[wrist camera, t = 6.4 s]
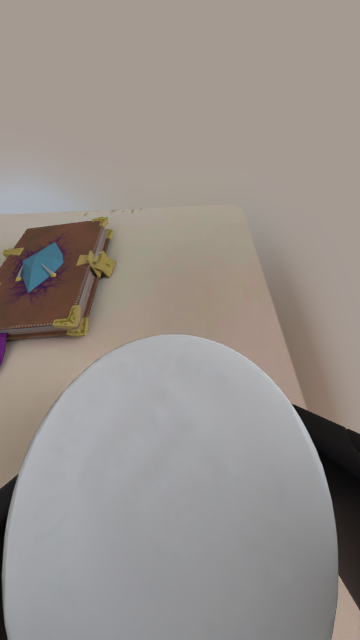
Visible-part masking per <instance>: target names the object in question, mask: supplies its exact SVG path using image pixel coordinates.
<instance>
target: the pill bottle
mask: <svg viewBox="0 0 360 640" xmlns="http://www.w3.org/2000/svg"><path fill="white" fill-rule="evenodd" d="M337 598H338V544H337V533H336V524H335V518H334V511H333V505H332V499H331V495H330V491H329V488H328V484H327V480H326V476H325V473H324V469H323V466H322V463H321V461H320V458H319V456H318V453H317V451H316V448H315V446H314V444H313V442H312V440H311V438H310V435H309V433H308V431H307V429H306V428H305V426H304V424H303V422H302V420H301V419H300V417H299V415H298V414H297V412H296V410H295V409H294V407H293V406H292V404H291V403H290V401H289V400H288V398H287V397H286V396H285V395H284V393H283V392H282V391H281V390H280V388H279V387H278V386H277V385H276V384H275V383H274V381H273V380H272V379H271V378H270V377H269V376H268V375H267V374H266V373H264V372H263V371H262V370H261V369H260V368H259V367H258V366H257V365H255V364H254V363H253V362H251V361H250V360H249V359H247V358H246V357H244V356H243V355H241V354H240V353H238V352H236V351H234V350H233V349H231V348H229V347H227V346H225V345H222V344H220V343H217V342H214V341H212V340H208V339H205V338H201V337H196V336H191V335H181V334H164V335H157V336H151V337H146V338H142V339H138V340H135V341H132V342H130V343H127V344H125V345H122V346H120V347H118V348H116V349H114V350H112V351H111V352H109V353H107V354H105V355H104V356H102V357H101V358H99V359H98V360H96V361H95V362H94V363H93V364H91V365H90V366H89V367H88V368H86V369H85V370H84V371H83V372H82V373H81V374H80V375H79V376H78V377H77V378H76V379H75V380H74V381H73V382H72V383H71V384H70V385H69V386H68V387H67V388H66V389H65V391H64V392H63V393H62V394H61V395H60V397H59V398H58V399H57V400H56V402H55V403H54V405H53V406H52V407H51V409H50V410H49V412H48V413H47V415H46V416H45V418H44V420H43V421H42V423H41V425H40V426H39V428H38V430H37V432H36V434H35V435H34V438H33V440H32V442H31V444H30V446H29V448H28V451H27V453H26V456H25V458H24V461H23V463H22V466H21V469H20V472H19V474H18V477H17V481H16V484H15V488H14V491H13V495H12V499H11V503H10V507H9V512H8V517H7V523H6V529H5V537H4V549H3V564H2V599H3V613H4V623H5V629H6V633H7V638H8V640H331V637H332V633H333V627H334V620H335V614H336V607H337Z"/></svg>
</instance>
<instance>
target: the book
mask: <svg viewBox="0 0 360 640" xmlns="http://www.w3.org/2000/svg"><path fill="white" fill-rule="evenodd" d="M107 224H108V217H99V218H95V219H92V221H85V222H77V223H69V224H62V225H54V226H46V227H38V228H30V229H27V230H26V231H25V233H24V234H23V236H22V237H21V239H20V240H19V241H18V243H17V244H16V246H15V247H14V249H9V250H4V251H3V253H2V254H3V255H4V256H6V257H7V259H6V260H5V262H4V263H3V265H2V266H1V267H0V365H1V363H2V360H3V357H4V353H5V346H6V340H11V339H24V338H37V337H49V336H62V335H69V336H75V337H82V336H86V334H87V332H88V326H89V319H88V316H89V313H90V309H91V305H92V302H93V298H94V294H95V291H96V287H97V283H98V280H99V278H100V276H101V273H102V272H103V273H104V274H105V275H106V276H107V277H110V276H111V274H112V271H113V269H114V266H115V264H116V262H115V261H114V260H112V259H110V258H109V257H108V256H107V255H106V251H107V247H108V243H109V240H111V238H112V237H113V233H114V230H111V229H106V230H105V229H104V228H105V227H106V225H107Z"/></svg>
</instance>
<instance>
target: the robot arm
mask: <svg viewBox="0 0 360 640" xmlns="http://www.w3.org/2000/svg"><path fill="white" fill-rule="evenodd" d="M292 406H293V407H294V409H295V410H296V412H297V414H298V415H299V417H300V419H301V420H302V422H303V424H304V426H305V428H306V429H307V431H308V433H309V435H310V438H311V440H312V442H313V444H314V446H315V448H316V451H317V453H318V456H319V458H320V461H321V463H322V466H323V469H324V473H325V476H326V480H327V484H328V488H329V491H330V495H331V499H332V505H333V511H334V518H335V524H336V533H337V544H338V574H339V576H340V578H341V579H342V581H343V583H344V585H345V586H346V588H347V590H348V591H349V593H350V595H351V596H352V598H353V600H354V601H355V603H356V605H357V606H358V608H359V610H360V434H359V433H356V432H354V431H352V430H350V429H346V428H345V427H343V426H340V425H338V424H336V423H334V422H332V421H329V420H327V419H325V418H323V417H320V416H318V415H316V414H313V413H312V412H309V411H307V410H305V409H303V408H300V407H298V406H296V405H294V404H292ZM17 477H18V475H17V476H16V477H14V478H13V479H12V480H11V481H9V482H8V483H7V484H6V485H5V486H3V487H2V488H1V489H0V640H8V638H7V633H6V629H5V623H4V613H3V599H2V564H3V549H4V537H5V529H6V523H7V517H8V512H9V507H10V503H11V499H12V495H13V491H14V488H15V484H16V481H17Z"/></svg>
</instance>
